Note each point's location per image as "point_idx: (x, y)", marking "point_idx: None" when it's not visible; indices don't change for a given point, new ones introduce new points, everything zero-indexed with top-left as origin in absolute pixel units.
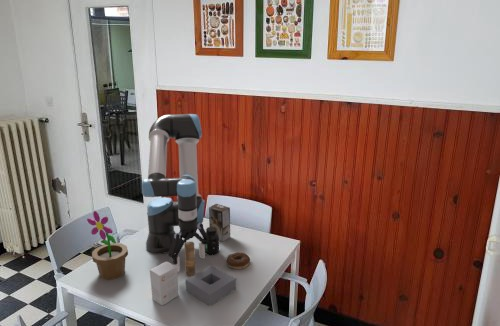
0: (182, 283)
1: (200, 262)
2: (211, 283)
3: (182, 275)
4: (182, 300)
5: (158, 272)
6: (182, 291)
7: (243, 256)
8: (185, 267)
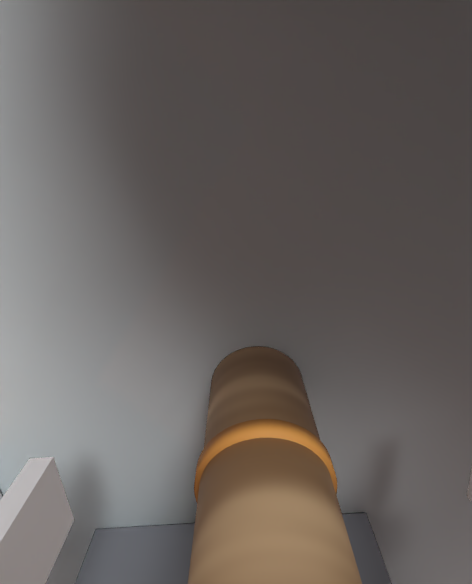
0: (116, 453)
1: (461, 302)
2: None
3: (177, 367)
4: None
5: None
6: None
7: None
8: (210, 417)
